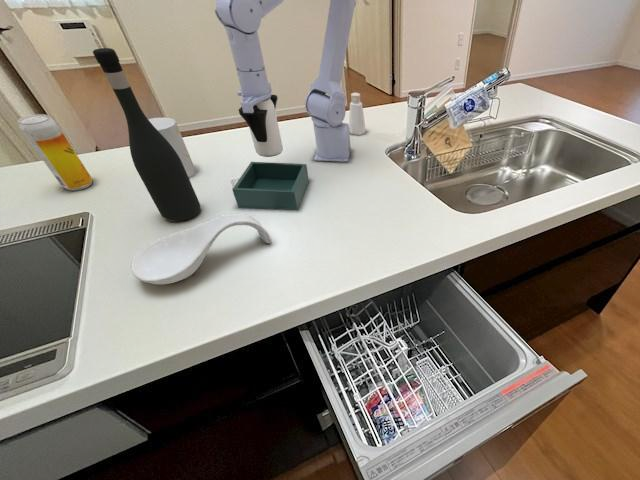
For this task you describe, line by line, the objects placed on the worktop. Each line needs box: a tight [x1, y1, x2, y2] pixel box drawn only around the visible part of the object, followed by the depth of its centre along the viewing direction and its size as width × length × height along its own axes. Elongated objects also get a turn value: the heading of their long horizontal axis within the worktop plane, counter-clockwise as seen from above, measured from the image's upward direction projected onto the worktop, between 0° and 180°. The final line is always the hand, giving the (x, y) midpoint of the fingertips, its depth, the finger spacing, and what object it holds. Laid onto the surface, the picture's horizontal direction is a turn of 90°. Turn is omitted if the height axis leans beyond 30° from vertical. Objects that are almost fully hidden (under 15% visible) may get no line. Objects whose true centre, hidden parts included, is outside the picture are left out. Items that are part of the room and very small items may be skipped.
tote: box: [232, 161, 310, 211], centre depth 82 cm, size 14×14×4 cm
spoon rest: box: [130, 213, 272, 285], centre depth 64 cm, size 24×12×7 cm, turn 129°
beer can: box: [17, 113, 93, 192], centre depth 77 cm, size 6×6×15 cm
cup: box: [147, 116, 197, 179], centre depth 84 cm, size 8×8×12 cm
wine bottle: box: [92, 47, 201, 222], centre depth 66 cm, size 8×8×30 cm
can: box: [248, 98, 284, 158], centre depth 80 cm, size 6×6×12 cm
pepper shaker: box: [348, 92, 367, 136], centre depth 107 cm, size 5×5×11 cm
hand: (266, 135), depth 82 cm, fingers closed on can, 6 cm apart
